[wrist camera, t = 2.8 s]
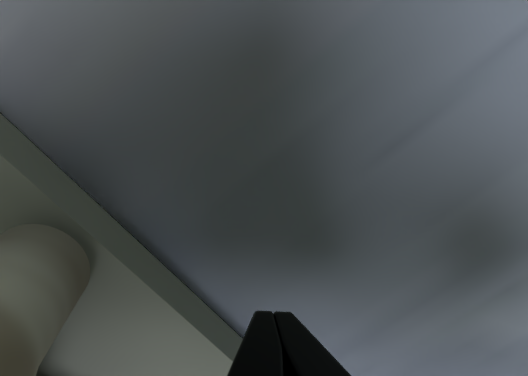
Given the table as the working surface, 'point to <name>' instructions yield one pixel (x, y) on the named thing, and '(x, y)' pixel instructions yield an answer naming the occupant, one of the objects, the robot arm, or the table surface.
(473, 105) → the table surface
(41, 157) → the slate base
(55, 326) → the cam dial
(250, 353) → the robot arm
